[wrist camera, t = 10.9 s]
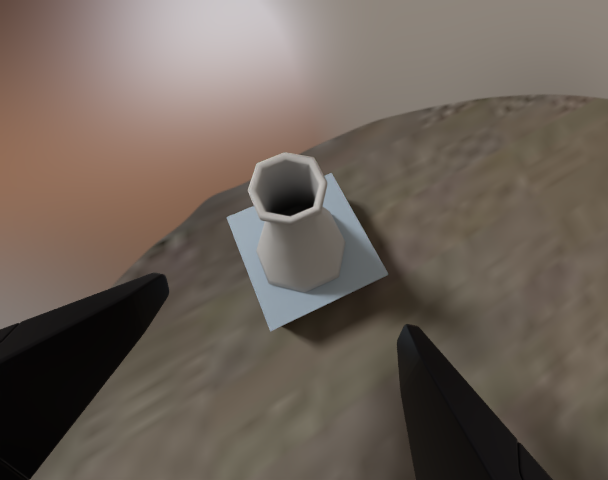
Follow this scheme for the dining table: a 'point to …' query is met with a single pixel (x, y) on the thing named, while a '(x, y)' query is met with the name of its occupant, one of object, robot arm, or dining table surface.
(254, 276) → the pale blue square slab
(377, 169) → the dining table surface
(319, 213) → the flask
